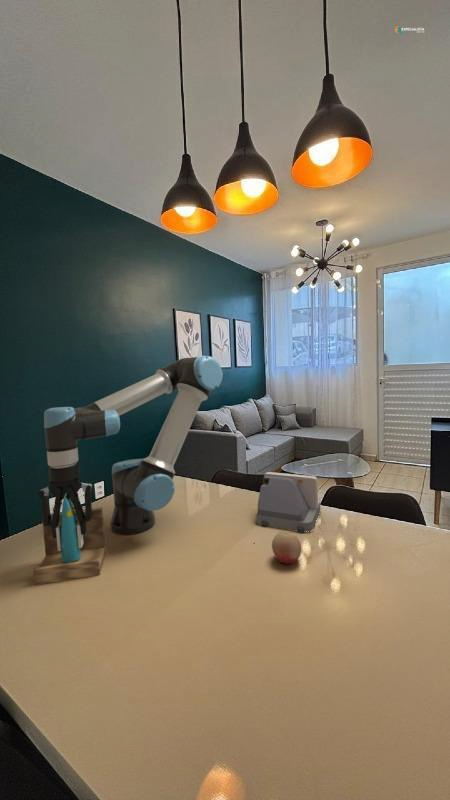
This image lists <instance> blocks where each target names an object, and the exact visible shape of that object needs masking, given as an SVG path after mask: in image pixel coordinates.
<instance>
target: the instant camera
mask: <svg viewBox="0 0 450 800" xmlns="http://www.w3.org/2000/svg"><path fill="white" fill-rule="evenodd" d="M318 484H319V483H318V477H317V476H315V475H314V476H313V475H306V474H305V475H303V474H295V473H294V474H292V473H284V472H283V473H282V472H274V471H273V472H271V471H267V472H266V473H265V474H264V475H263V478H262V485H260V491H259V495H258V499H257V500H258V501H257V511H256V524H257V525H259V526H263V525H265V526H264V527H269V526H271V527H270V528H275V527H277V528H276V529H280V528H284V529H283V530H286V529H290V530H289V531H292V530H297V531H296V532H298V531H301V532H300V533H304V531H305V532H306V531H307V532H308V531H311V530H312V529H313V527H314V528H315V526H316V524H315V522H316V520H317V518H318V516H319V513H320V514H321V500H320V499H319V496H318V495H319V493H318V492H319V491H318V489H319V488H318ZM319 517H320V516H319ZM318 519H319V518H318ZM317 521H318V520H317ZM316 523H317V522H316ZM314 525H315V526H314ZM313 530H314V529H313Z"/></svg>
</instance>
